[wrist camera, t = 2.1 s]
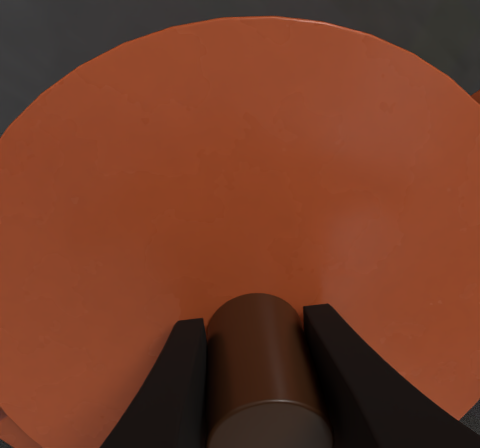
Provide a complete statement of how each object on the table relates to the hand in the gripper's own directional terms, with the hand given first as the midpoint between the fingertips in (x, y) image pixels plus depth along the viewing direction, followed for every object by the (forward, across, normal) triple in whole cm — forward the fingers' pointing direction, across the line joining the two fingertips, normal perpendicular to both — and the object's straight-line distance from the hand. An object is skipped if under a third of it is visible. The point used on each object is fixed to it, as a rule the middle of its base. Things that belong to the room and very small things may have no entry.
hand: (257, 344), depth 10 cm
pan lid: (+1, 0, 0) cm, 1 cm away
